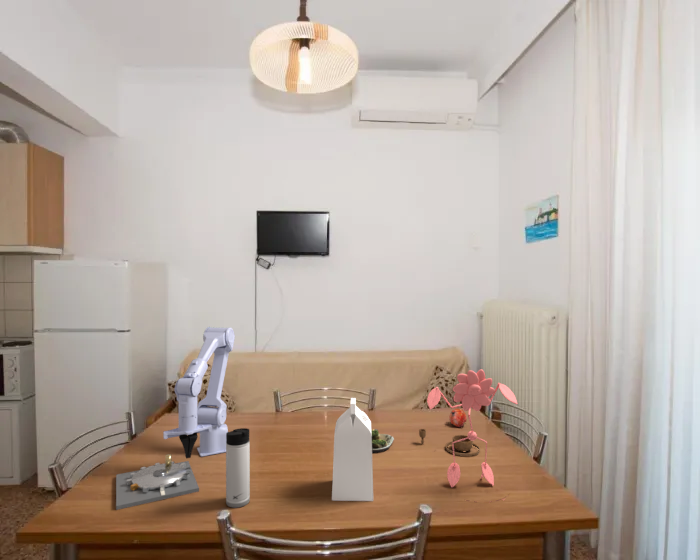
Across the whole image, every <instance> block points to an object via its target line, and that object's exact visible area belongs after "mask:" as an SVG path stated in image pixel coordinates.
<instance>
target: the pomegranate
mask: <svg viewBox="0 0 700 560" xmlns="http://www.w3.org/2000/svg"><path fill="white" fill-rule="evenodd" d="M448 416H449V422H450V424H452V425H453V426H455V427H456V428H462V427H463V426H464V425H467V423H466V422H467V419H468V418H467V414H466V411H464V410H463V408H454V409H452V410H451V411H450V414H449V415H448Z"/></svg>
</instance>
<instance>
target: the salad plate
mask: <svg viewBox="0 0 700 560" xmlns="http://www.w3.org/2000/svg"><path fill="white" fill-rule="evenodd" d="M371 434H372V454H378V453H384V452H385V451H387V450H389V449H390V447H391V445H393V442H394V441H395V438H394V436H392V435H390V434H386V433H379V429H377V428H371Z"/></svg>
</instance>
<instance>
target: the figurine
mask: <svg viewBox="0 0 700 560" xmlns="http://www.w3.org/2000/svg"><path fill="white" fill-rule="evenodd" d="M466 373H467V374H466ZM466 373H459V374H457V376H456V379H457V381H458V382H459V383H457V384H456V385H454V386H453V388H452V391H453V392H454V396H453V402H455V403H460V402H461V404H456V405H453V406H452V404H451V403H450V402H449V401H448V399H447V398H446V397H445V396H444V394H443V392H441V390H440V389H439V387H438V386H436V387H435V388H432V389H431V391H429V393H428V395H427V399H426V401H427V402H426V403H427V405H428V408H429V410H432V409H433V408H435V407H436V406H437V405H438V404H439V403H440V400H441V398H443V399H444V401H445V402H446V404H448V405H447V406H449V407H450V408H451V409H452V410H453V409H457V408H460V407H462V410H463V411H464V412H468V413H467V417H468V418H467V419H468V422H469V426H470V431H468V432H467V436H468V437H467V438H464V439H461V440H458V441H455V442H453V443H456V442H459V441H462V440H465V439H468V438H469V440H471V441H475V440H479V441H482V442H484V443H485V455H484V456H485V457H484V461H483V462H481V464H480V465H481V466H480V467H481V475H480V479H481V478H485V481H487V482H488V484H490V485H491V486H493V487H494V485H495V484H494V483H495V477H494V471H493V470H492V468H491V466H490V465H489V464H488V463H487V453H488V441H487V440H485V439H482V438H480V437H478V434H477V432H476V431H474V429H473V424H472V418H471V410H474V411H475V412H479V411H481V409H482V406H484V407H486V406H487V407H490V405H491V403H492V401H493V398H494V396H495V394H496V393H497V391H498V390H499V391H500V393H501V395H502V396H503V397H504V398H505V399H506V400H508V401H509V402H510V403H513V404H515V405H518V400H517V398H516V395H515V393H514V392H513V391H512V390H511V389H510V387H508V386H507V385H505V384H504V383H501V382H498V383H497V385H496V387H495V388H494V387H491V386H492V384H493V378H491V377H489V378H486V374H485V371H484V370H483V369H478V371H477V372H475V371H474V370H468V371H467V372H466ZM489 397H490V398H489ZM471 408H472V409H471ZM453 443H452V451H453V454H452V455H453V462H451V463H450V465H449V466H448V469H447V472H446V476H447V477H446V478H447V480H448V483H449V486H450V487H451V488H454V487H455V486H456V484H458V482H459V481H460V479H461V468H460V465H459V464H458V463H457V462H456V455H454V452H455V448H454V444H453ZM507 497H508V495H506V496H505V497H503V498H500V499H497V500H496V502H497V501H501V500H505V499H506V498H507ZM465 500H466V499H465ZM466 501H467V502H469V500H466ZM473 501H474V500H473ZM492 501H493V500H492ZM492 501H490V503H493V502H492ZM473 503H476V501H474V502H473Z"/></svg>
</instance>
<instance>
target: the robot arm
mask: <svg viewBox="0 0 700 560" xmlns="http://www.w3.org/2000/svg"><path fill="white" fill-rule="evenodd" d="M202 335H203V336H202V338H203V344H202V346H201V349H200V350H199V353H198V356H196V357H197V358H194V359H192V360H191V361H190V363H189V366H188V368H187V369H186V371H185V372H184V375H183V376H182V377H180V378H179V379H177V380H176V381H175V382H176V383H175V385H174V393H175V395H176V402H178V427H177V428H173V429H170V430H164V431H163V433H162V434H163V435H162V436H163V440H167V439H170V438H176V437H178V438H179V440H180V443H181V444H182V447H183V449H184V457H185V458H186V459H191V458H192V452H193V449H194V446H195V444H196V441H197V440H198V434H199V447H196V450H197V452H198V454H199V456H200V457H206V456H213V455H217V454H223V453H226V433H227V432H229V430H228V429H229V427H228V425H227V424H226V423H225V422H226V419H227V407H228V406H227V404H226V402H225V401H224V400H222V398H221V397H222V393H223V387H224V381H225V376H226V370H227V366H228V361H229V360H228V359H229V354H230V353H231V352H232V351H233V348H234V345H235V344H234V343H235V338H236V336H235V332H234V329H233V327H215V326H214V327H212V326H211V327H210V326H207V327H205V329H204V332H203V334H202ZM213 354H214V356H213V361H212V366H211V371H210V375H209V380H208V386H207V390H206V395H205V397H204V398H203V399H201V400H199V402H198V396H199V394H200V392H201V390H202V384H203V378H204V376H205V374H206V372H207V370H208V368H209V365H208V363H207V362H208V361H209V360H210V358H211V357H212V355H213Z"/></svg>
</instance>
